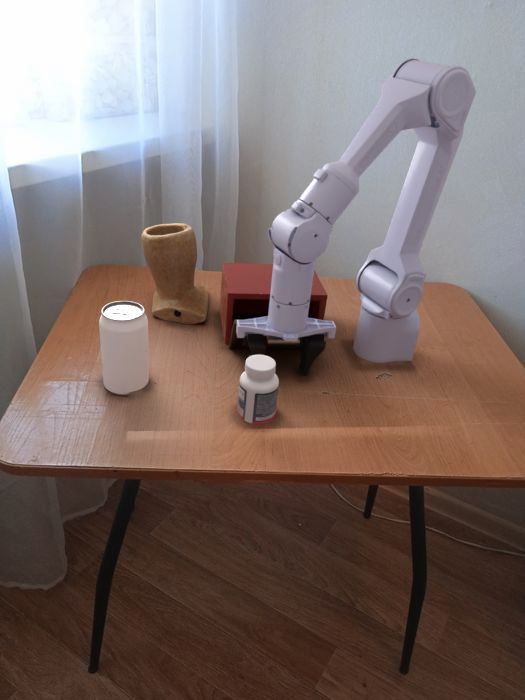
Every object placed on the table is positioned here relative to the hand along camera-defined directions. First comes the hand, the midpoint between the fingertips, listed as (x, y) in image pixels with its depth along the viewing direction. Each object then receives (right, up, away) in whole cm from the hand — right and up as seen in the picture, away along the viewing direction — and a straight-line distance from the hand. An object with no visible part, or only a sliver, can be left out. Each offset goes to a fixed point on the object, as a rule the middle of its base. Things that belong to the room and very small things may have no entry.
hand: (280, 375), depth 86 cm
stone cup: (-19, +11, +16) cm, 27 cm away
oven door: (-1, +3, +5) cm, 6 cm away
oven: (-2, +7, +12) cm, 14 cm away
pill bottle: (-4, -5, -9) cm, 11 cm away
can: (-23, -1, -5) cm, 23 cm away
